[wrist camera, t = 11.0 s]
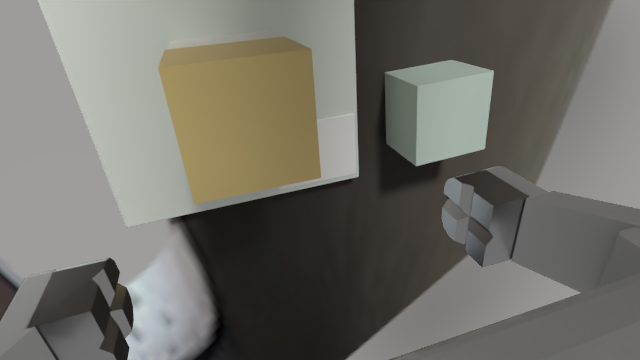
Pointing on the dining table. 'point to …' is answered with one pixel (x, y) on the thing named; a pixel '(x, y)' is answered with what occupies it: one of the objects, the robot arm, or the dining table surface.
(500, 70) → the dining table surface
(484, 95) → the sage brick
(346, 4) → the build board
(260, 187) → the ochre brick
